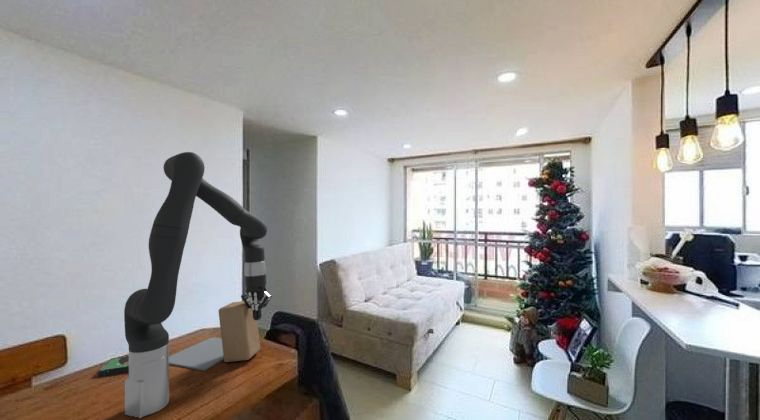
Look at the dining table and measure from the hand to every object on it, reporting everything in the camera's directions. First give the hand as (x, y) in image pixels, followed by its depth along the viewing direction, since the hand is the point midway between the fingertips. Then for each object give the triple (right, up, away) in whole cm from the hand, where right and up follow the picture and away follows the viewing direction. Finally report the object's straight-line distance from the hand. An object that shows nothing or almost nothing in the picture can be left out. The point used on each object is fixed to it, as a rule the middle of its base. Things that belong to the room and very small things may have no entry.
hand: (257, 319), depth 117 cm
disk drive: (-45, -17, -3) cm, 48 cm away
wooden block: (-6, -15, +2) cm, 16 cm away
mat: (-22, -16, +7) cm, 28 cm away
